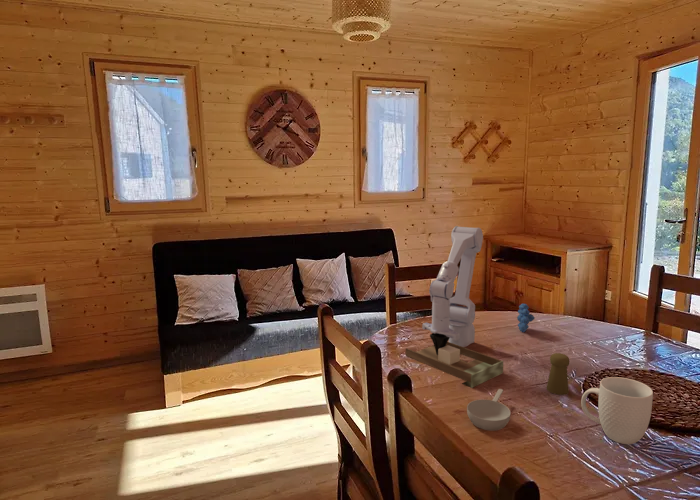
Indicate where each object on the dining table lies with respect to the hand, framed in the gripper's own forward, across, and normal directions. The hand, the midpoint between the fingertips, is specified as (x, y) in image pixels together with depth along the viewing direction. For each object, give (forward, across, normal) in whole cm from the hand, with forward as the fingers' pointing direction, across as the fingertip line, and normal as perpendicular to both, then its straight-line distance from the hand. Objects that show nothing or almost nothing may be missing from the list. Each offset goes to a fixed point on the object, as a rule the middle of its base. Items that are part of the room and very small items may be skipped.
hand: (439, 354), depth 159 cm
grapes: (+3, +3, +48) cm, 48 cm away
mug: (+3, +57, -2) cm, 57 cm away
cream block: (+1, +4, 0) cm, 4 cm away
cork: (+3, +36, +10) cm, 38 cm away
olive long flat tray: (+2, +5, 0) cm, 6 cm away
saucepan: (+3, +32, -17) cm, 37 cm away
